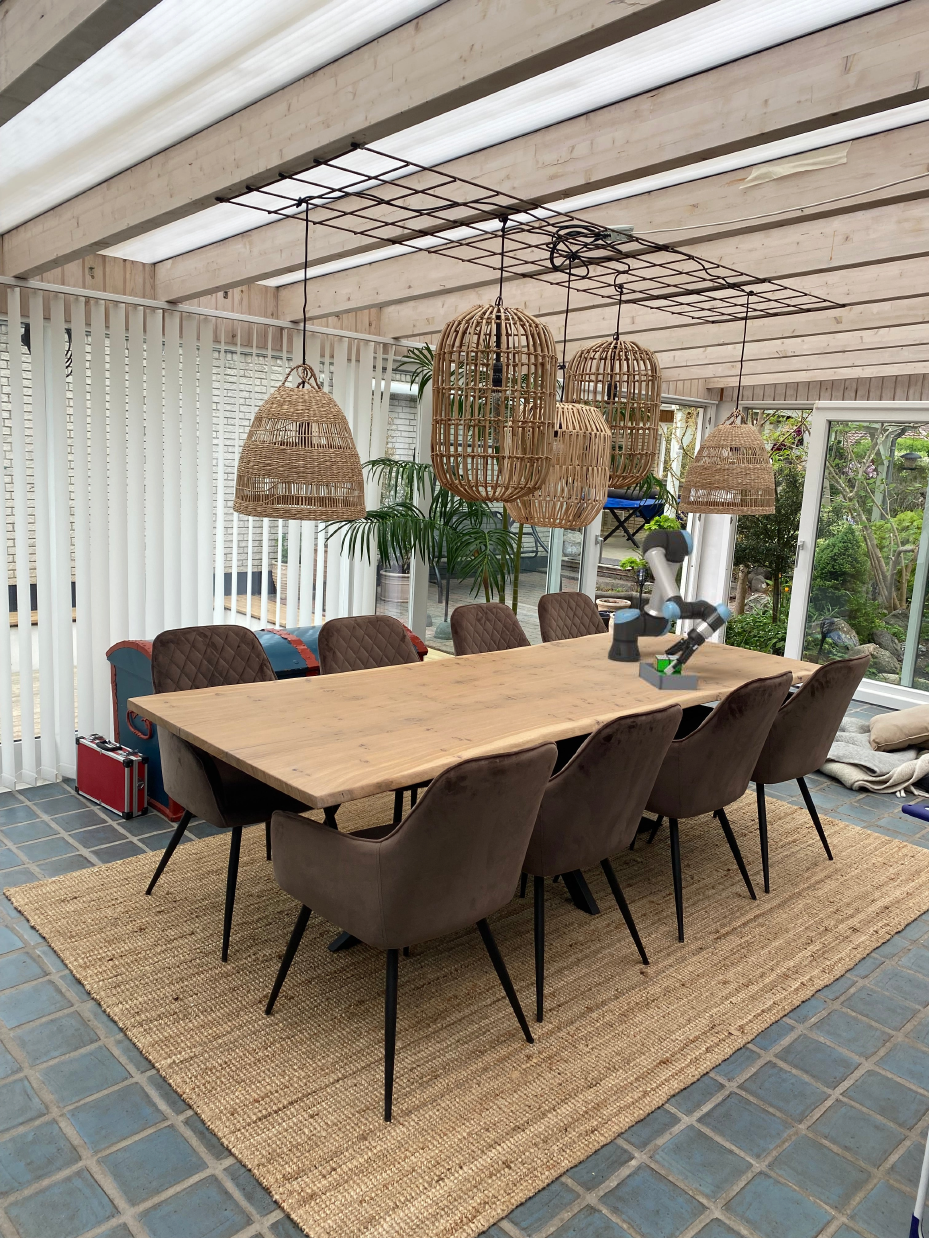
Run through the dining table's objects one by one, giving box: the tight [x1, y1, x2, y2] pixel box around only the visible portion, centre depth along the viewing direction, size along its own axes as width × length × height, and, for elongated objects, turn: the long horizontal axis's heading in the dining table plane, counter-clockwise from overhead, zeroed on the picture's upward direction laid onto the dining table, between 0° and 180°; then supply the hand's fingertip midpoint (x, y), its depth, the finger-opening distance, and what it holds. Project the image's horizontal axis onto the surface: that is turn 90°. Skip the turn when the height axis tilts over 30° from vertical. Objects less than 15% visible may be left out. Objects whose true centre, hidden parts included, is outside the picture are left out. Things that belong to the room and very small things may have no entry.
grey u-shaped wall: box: [638, 662, 699, 691], centre depth 369 cm, size 25×16×6 cm, turn 7°
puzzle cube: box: [653, 654, 683, 675], centre depth 369 cm, size 10×10×10 cm
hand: (661, 670), depth 369 cm, fingers closed on puzzle cube, 11 cm apart
